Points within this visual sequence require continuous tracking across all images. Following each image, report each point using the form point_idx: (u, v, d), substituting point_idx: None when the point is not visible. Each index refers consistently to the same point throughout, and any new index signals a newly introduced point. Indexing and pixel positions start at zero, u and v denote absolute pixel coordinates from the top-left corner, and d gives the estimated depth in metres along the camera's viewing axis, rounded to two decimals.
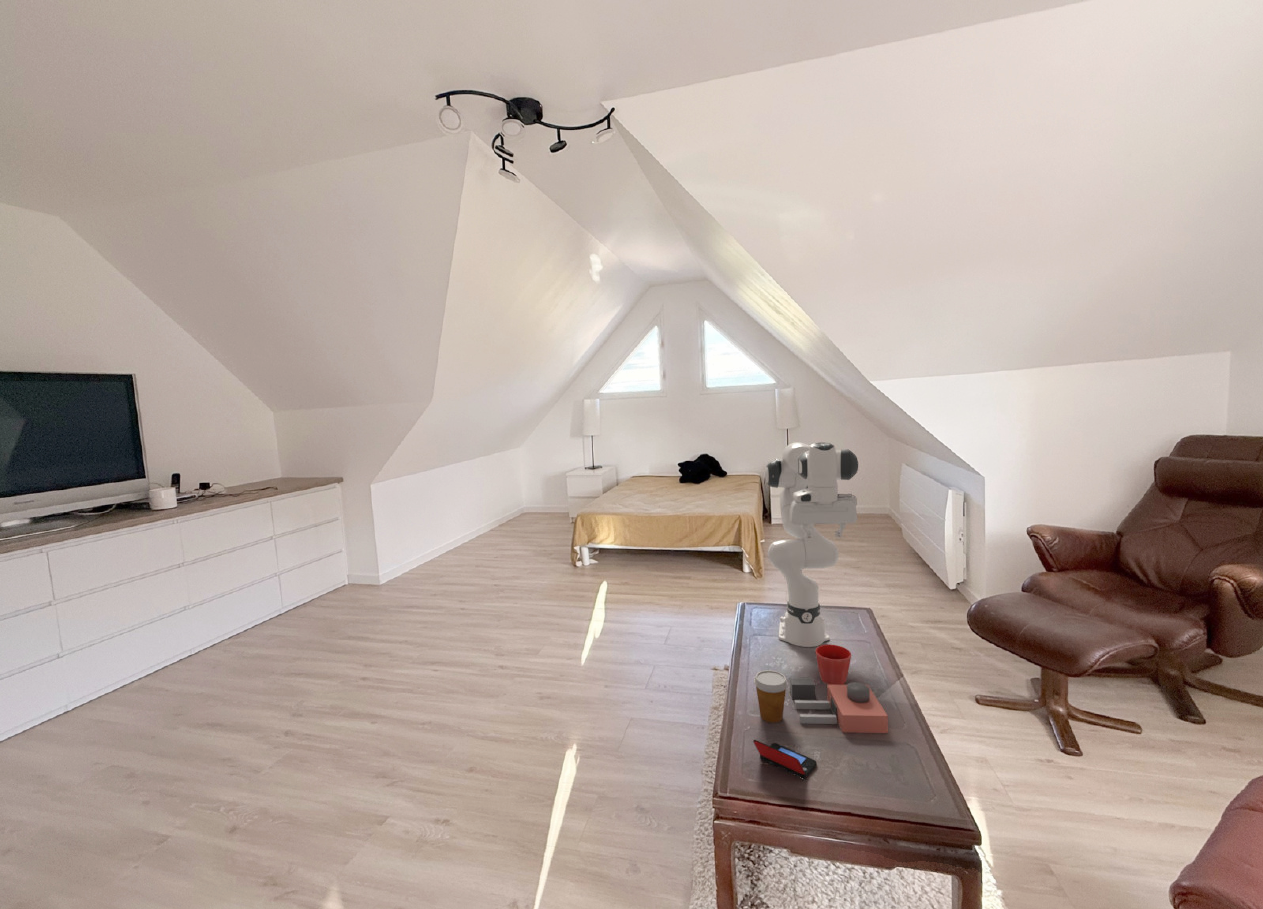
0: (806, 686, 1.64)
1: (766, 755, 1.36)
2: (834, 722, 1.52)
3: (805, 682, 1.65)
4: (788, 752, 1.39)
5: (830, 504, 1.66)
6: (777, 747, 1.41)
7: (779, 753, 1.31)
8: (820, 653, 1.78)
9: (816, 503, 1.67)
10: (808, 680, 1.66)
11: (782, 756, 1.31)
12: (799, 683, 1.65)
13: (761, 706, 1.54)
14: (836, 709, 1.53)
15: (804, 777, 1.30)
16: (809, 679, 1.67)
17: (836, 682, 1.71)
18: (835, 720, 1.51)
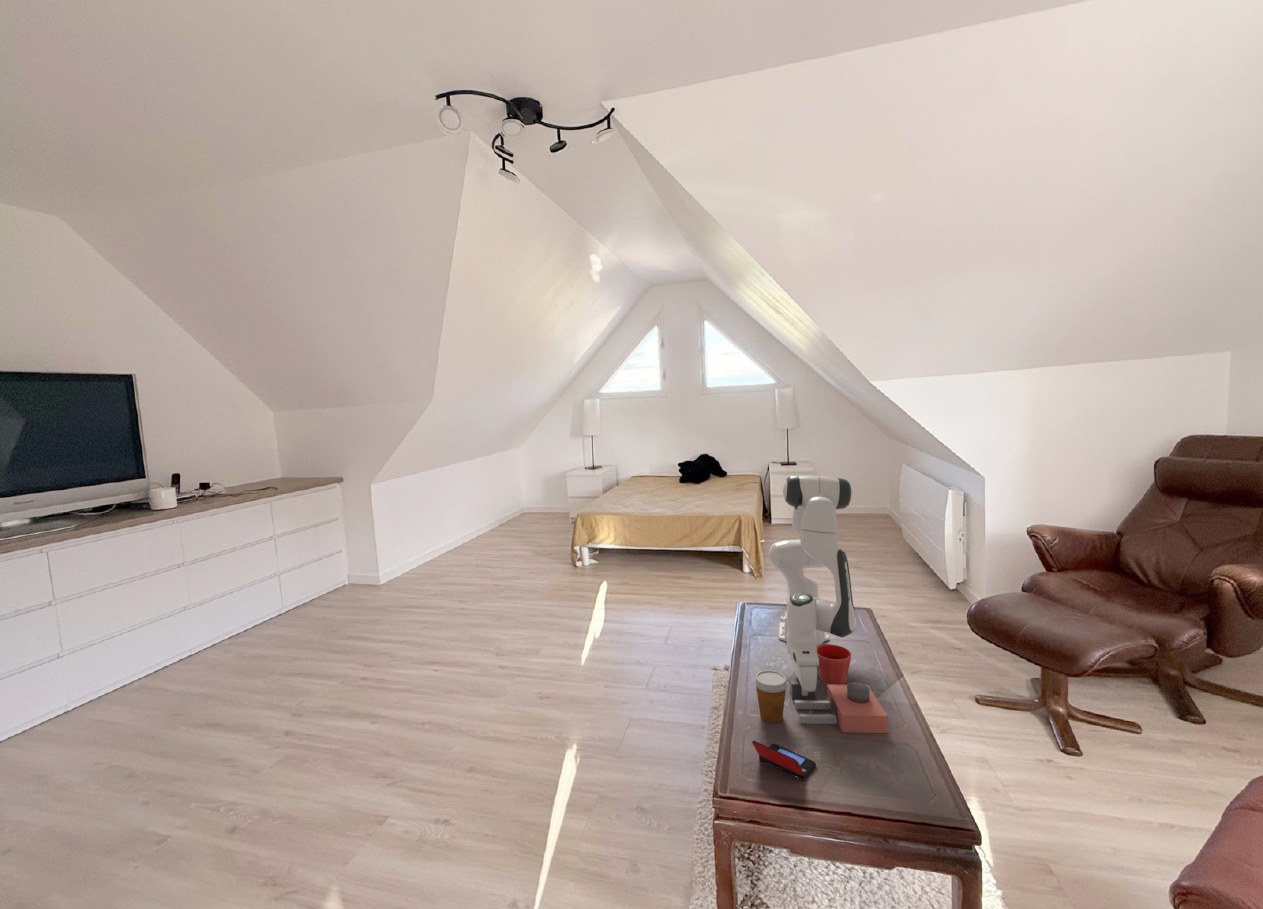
0: None
1: (765, 756, 1.36)
2: (834, 722, 1.52)
3: None
4: (787, 753, 1.39)
5: None
6: (776, 748, 1.41)
7: (778, 754, 1.30)
8: (820, 653, 1.78)
9: None
10: None
11: (781, 757, 1.30)
12: (799, 683, 1.65)
13: (761, 706, 1.54)
14: (836, 709, 1.53)
15: (803, 778, 1.30)
16: None
17: (836, 682, 1.71)
18: (835, 720, 1.51)
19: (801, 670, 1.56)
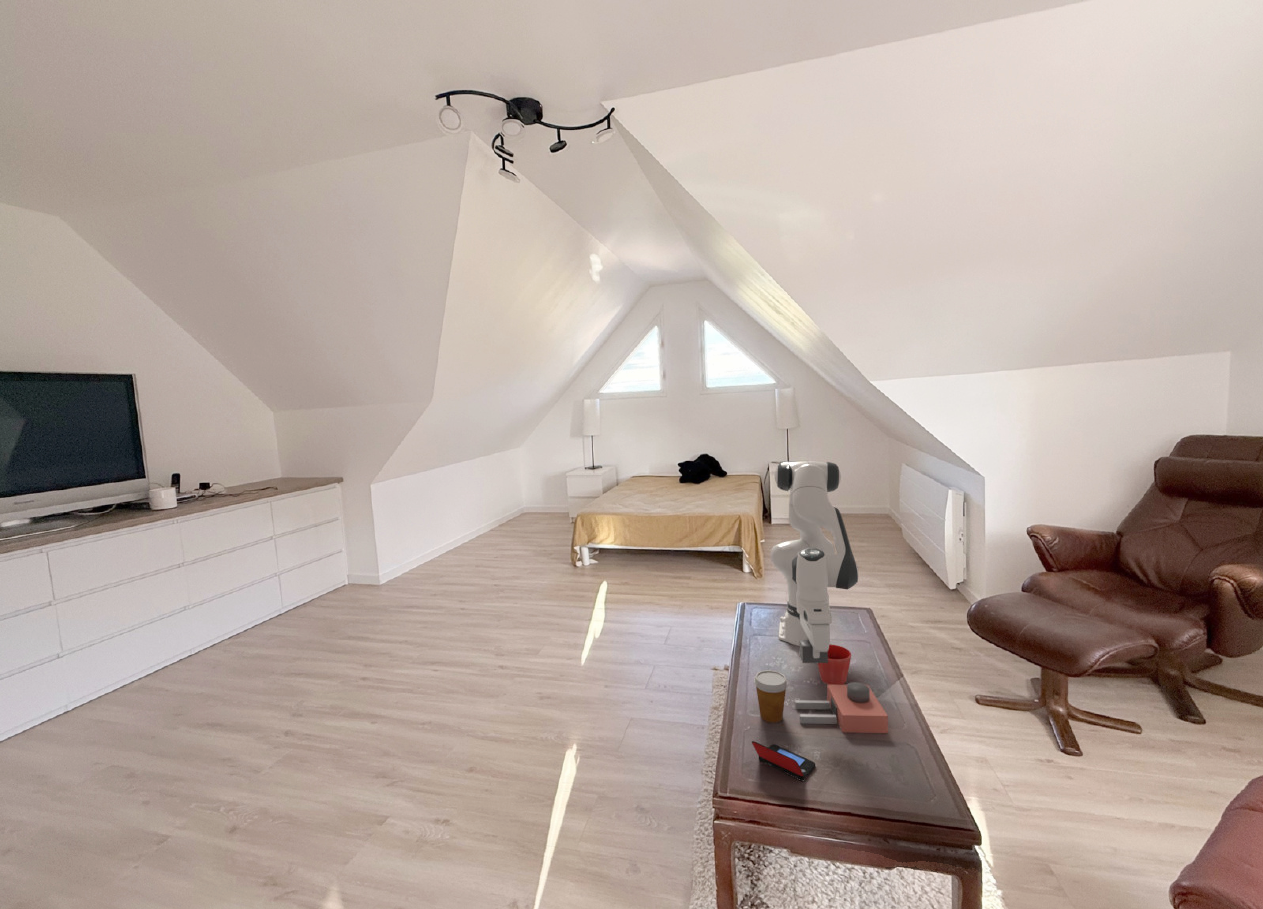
0: None
1: (764, 756, 1.35)
2: (834, 722, 1.52)
3: None
4: (787, 753, 1.38)
5: None
6: (776, 748, 1.41)
7: (777, 754, 1.30)
8: None
9: None
10: None
11: (780, 758, 1.30)
12: (810, 645, 1.53)
13: (761, 706, 1.54)
14: (836, 709, 1.53)
15: (802, 779, 1.30)
16: None
17: (836, 682, 1.71)
18: (835, 720, 1.51)
19: (813, 629, 1.45)
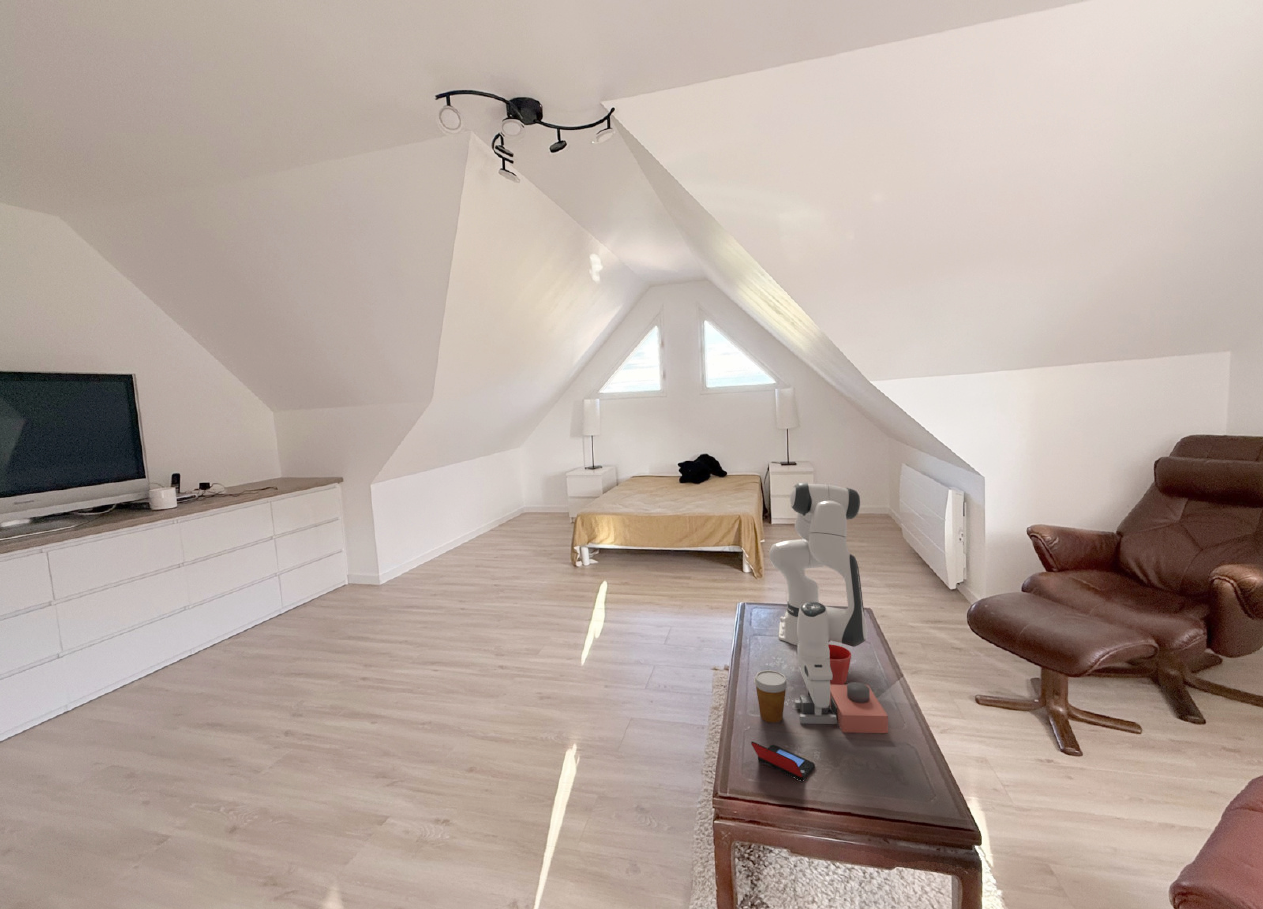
0: None
1: (764, 757, 1.35)
2: (834, 722, 1.52)
3: None
4: (786, 754, 1.38)
5: None
6: (775, 749, 1.41)
7: (777, 755, 1.30)
8: None
9: None
10: None
11: (779, 759, 1.30)
12: (811, 701, 1.55)
13: (761, 706, 1.54)
14: (836, 709, 1.53)
15: (802, 779, 1.29)
16: None
17: (836, 682, 1.71)
18: (835, 720, 1.51)
19: (813, 685, 1.46)
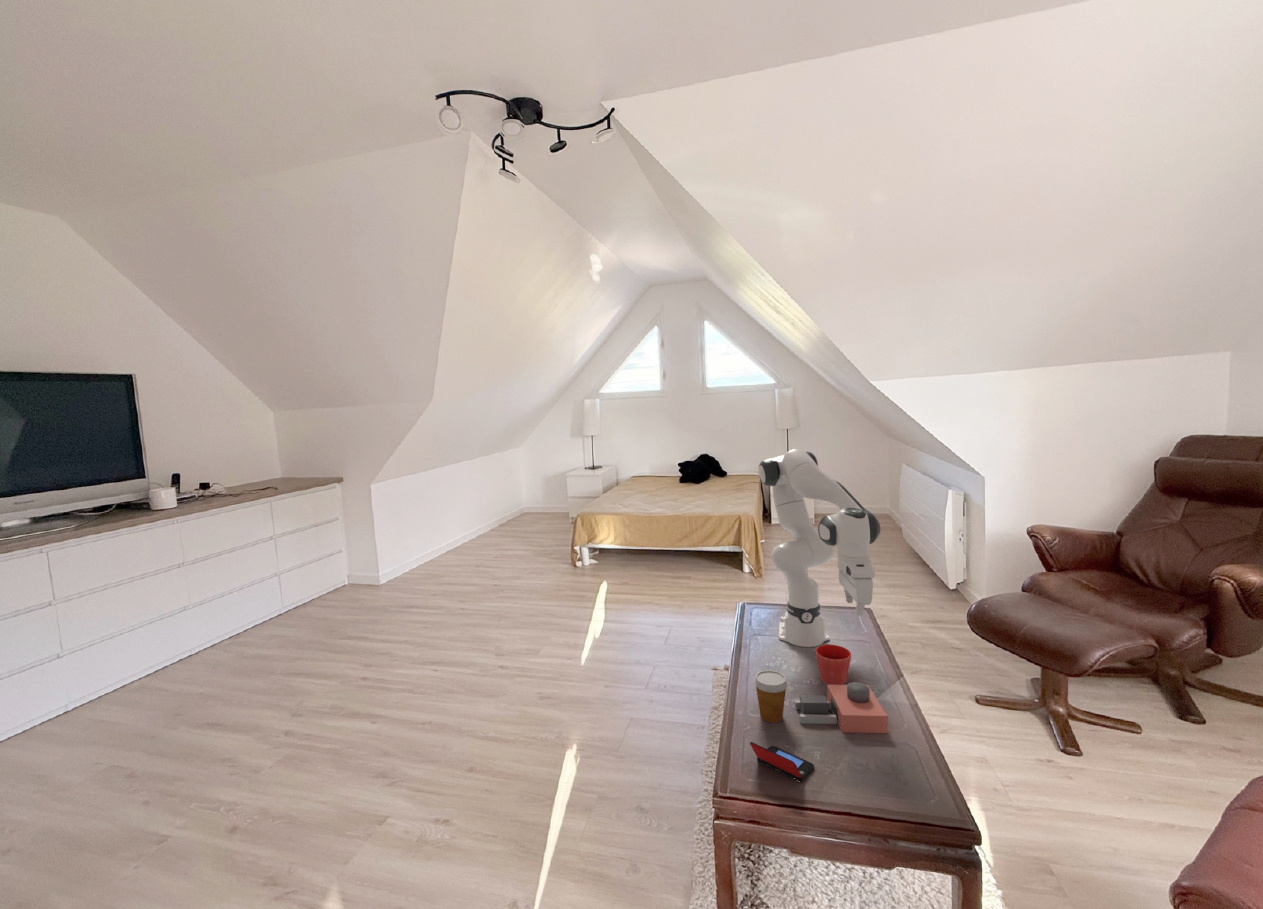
0: (819, 704, 1.54)
1: (763, 758, 1.35)
2: (834, 722, 1.52)
3: (817, 700, 1.55)
4: (785, 755, 1.38)
5: None
6: (775, 750, 1.40)
7: (776, 756, 1.30)
8: (820, 653, 1.78)
9: None
10: (820, 698, 1.56)
11: (778, 759, 1.30)
12: (811, 701, 1.55)
13: (761, 706, 1.54)
14: (836, 709, 1.53)
15: (801, 780, 1.29)
16: (821, 697, 1.57)
17: (836, 682, 1.71)
18: (835, 720, 1.51)
19: (856, 582, 1.50)
